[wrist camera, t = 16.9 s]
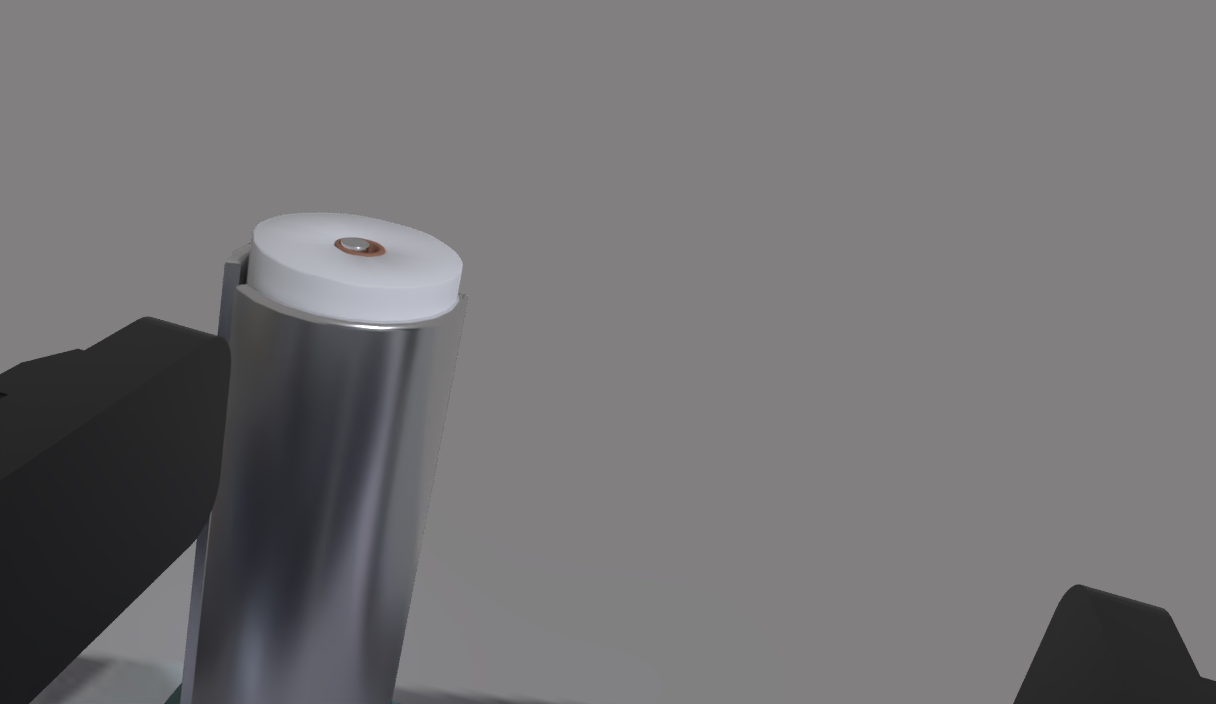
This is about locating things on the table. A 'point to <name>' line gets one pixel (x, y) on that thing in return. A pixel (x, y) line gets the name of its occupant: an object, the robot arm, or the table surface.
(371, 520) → the silver metal cylinder
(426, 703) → the table surface
